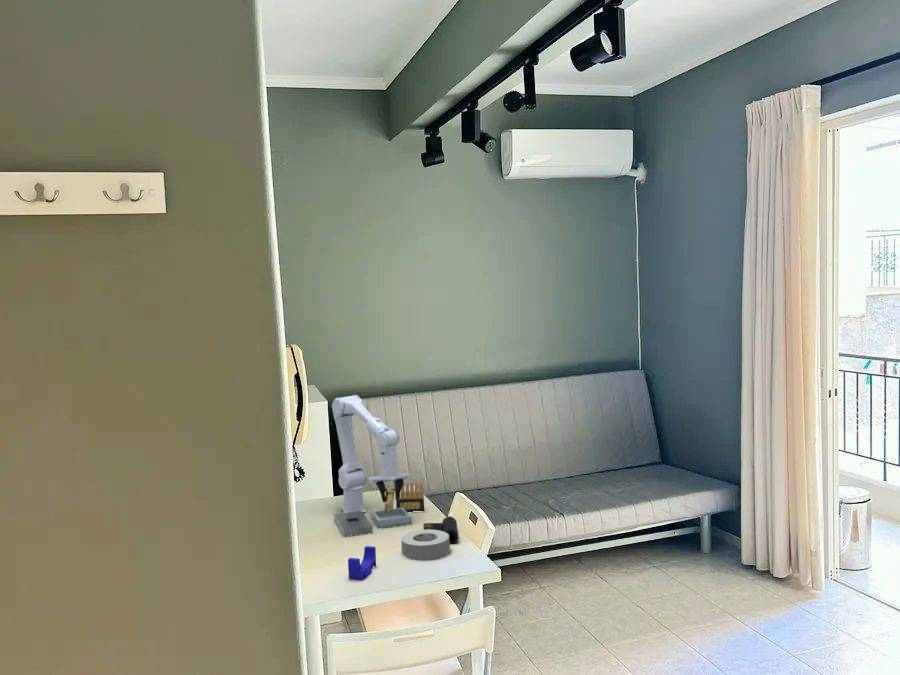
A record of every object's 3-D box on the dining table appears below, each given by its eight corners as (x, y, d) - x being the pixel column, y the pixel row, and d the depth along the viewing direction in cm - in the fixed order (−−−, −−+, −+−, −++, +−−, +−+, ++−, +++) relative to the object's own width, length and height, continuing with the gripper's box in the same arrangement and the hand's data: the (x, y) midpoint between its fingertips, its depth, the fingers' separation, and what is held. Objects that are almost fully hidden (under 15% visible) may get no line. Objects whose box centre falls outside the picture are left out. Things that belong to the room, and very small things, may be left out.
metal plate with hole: (334, 520, 280) (334, 514, 279) (361, 517, 283) (361, 510, 282) (343, 537, 261) (343, 529, 260) (372, 533, 264) (372, 526, 263)
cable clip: (362, 581, 221) (361, 560, 221) (348, 579, 223) (347, 559, 222) (380, 566, 232) (379, 547, 232) (367, 565, 234) (366, 546, 233)
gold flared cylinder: (381, 510, 277) (382, 487, 276) (393, 510, 278) (394, 487, 278) (383, 514, 272) (385, 490, 272) (395, 513, 274) (397, 490, 274)
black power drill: (423, 530, 249) (423, 516, 264) (423, 546, 249) (423, 531, 264) (458, 529, 249) (456, 515, 264) (458, 545, 250) (456, 530, 265)
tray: (371, 519, 280) (371, 511, 279) (403, 515, 283) (402, 507, 283) (378, 528, 268) (378, 520, 268) (411, 524, 272) (411, 516, 272)
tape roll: (410, 564, 234) (410, 547, 233) (395, 548, 248) (395, 533, 247) (457, 556, 239) (456, 540, 239) (439, 541, 253) (439, 526, 253)
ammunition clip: (424, 510, 289) (423, 479, 288) (424, 512, 287) (423, 480, 286) (396, 511, 288) (395, 480, 288) (396, 513, 287) (395, 481, 286)
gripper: (371, 468, 268) (373, 506, 269) (411, 463, 273) (412, 501, 274) (367, 464, 275) (369, 501, 276) (406, 459, 280) (407, 496, 280)
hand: (390, 500), depth 275 cm, fingers closed on gold flared cylinder, 4 cm apart
